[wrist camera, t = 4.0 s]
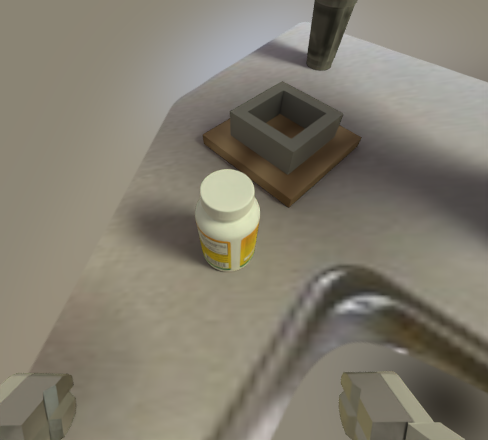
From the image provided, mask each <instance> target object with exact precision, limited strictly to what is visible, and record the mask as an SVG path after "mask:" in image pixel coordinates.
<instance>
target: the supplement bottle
mask: <svg viewBox="0 0 488 440" xmlns="http://www.w3.org/2000/svg"><path fill="white" fill-rule="evenodd" d="M195 219H196V224H197V228H198V233H199V237H200V242H201V246H202V251H203V255H204V257H205V259H206V261H207V262H208V263H209V264H210V265H211V266H212V267H214V268H215V269H217V270H220V271H224V272H231V271H236V270H239V269H241V268H243V267H245V266H246V265H247V264H248V263H249V261H250V260H251V259H252V257H253V254H254V251H255V245H256V238H257V232H258V226H259V220H260V207H259V204H258V202H257V200H256V198H255V197H254V186H253V183H252V181H251V180H250V178H249V177H247V176H246V175H245V174H244V173H242V172H239V171H236V170H231V169H223V170H218V171H215V172H213V173H211V174H209V175H208V176H207V177H206V178H205V179H204V180H203V182H202V184H201V186H200V199H199V201H198V202H197V205H196V208H195Z"/></svg>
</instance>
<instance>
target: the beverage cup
mask: <svg viewBox="0 0 488 440" xmlns="http://www.w3.org/2000/svg"><path fill="white" fill-rule="evenodd" d="M356 2H357V0H315V3H314V10H313V17H312V24H311V32H310V39H309V46H308V54H307V55H308V56H307V66H309V67H310V68H312V69H315V70H327V69H329V68H330V67H331V64H332V62H333V59H334V58H335V55H336V53H337V50H338V47H339V45H340V42H341V40H342V37H343V34H344V32H345V29H346V26H347V24H348V21H349V19H350V16H351V13H352V11H353V8H354V5H355V4H356Z"/></svg>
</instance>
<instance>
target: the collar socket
mask: <svg viewBox="0 0 488 440" xmlns="http://www.w3.org/2000/svg"><path fill="white" fill-rule="evenodd" d="M342 117H343V113H341V112H339V111H338V110H336V109H334V108H332V107H330V106H328V105H326V104H324V103H322V102H321V101H319V100H317V99H315V98H313V97H311V96H309V95H307V94H305V93H303V92H302V91H300V90H298V89H296V88H294V87H292V86H290V85H288V84H286V83H284V82H283V81H282V82H280V83H279V84H277V85H275V86H273V87H272V88H270V89H268V90H266V91H265V92H263V93H261V94H259V95H258V96H256V97H254V98H252V99H251V100H249V101H247V102H246V103H244V104H242V105H240V106H239V107H237V108H235V109H233V110H232V111H230V119H228V120H227V121H225V122H223V123H222V124H220V125H218V126H216V127H215V128H213V129H211V130H210V131H208V132H206V133H205V134H203V141H204V144H205V145H206V146H208V147H209V148H210V149H212V150H213V151H214V152H216V153H217V154H218V155H220V156H221V157H222V158H224V159H225V160H226V161H228V162H229V163H230V164H232V165H233V166H234V167H236V168H237V169H238V170H239V171H241V172H242V173H244V174H245V175H246V176H247V177H249V178H250V179H251V180H253V181H254V182H255V183H257V184H258V185H259V186H261V187H262V188H263V189H265V190H266V191H267V192H269V193H270V194H271V195H273V196H274V197H275V198H277V199H278V200H279V201H281V202H282V203H283V204H285V205H286V206H287V207H290V206H291V205H292V204H293V203H295V202H296V201H297V200H298V199H299V198H300V197H301V196H302V195H303V194H305V193H306V192H307V191H308V190H309V189H310V188H311V187H312V186H314V185H315V184H316V183H317V182H318V181H319V180H320V179H321V178H322V177H324V176H325V175H326V174H327V173H328V172H329V171H330V170H331V169H333V168H334V167H335V166H336V165H337V164H338V163H339V162H340V161H341V160H343V159H344V158H345V157H346V156H347V155H348V154H349V153H350V152H352V151H353V150H354V149H355V148H356V147H357V146H358V144H359V142H360V140H361V138H362V137H360V136H358V135H356V134H354V133H353V132H351V131H349V130H347V129H345V128H343V127H342V126H340V125H339V124H340V122H341V119H342Z"/></svg>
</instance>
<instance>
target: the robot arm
mask: <svg viewBox="0 0 488 440" xmlns="http://www.w3.org/2000/svg"><path fill="white" fill-rule="evenodd" d="M73 385H74V384H73V379H72V375H69V374H54V373H34V374H31V373H16V374H14V375H12V376H10V377H9V378H7V379H6V380H5V381H4V382H3V383H2V384H1V385H0V440H61V439H62V438H64V437H65V435H66V433H67V432H68V430H69V429H70V427H71V425H72V422H73V419H74V416H75V414H76V398H75V396H74V395H73V394H72V393H71V392H70V389H71V388H72V387H73ZM341 385H342V387H343V389H344V391H343V392H342V393H341V394H340V395H339V412H340V418H341V422H342V426H343V428H344V431H345V433H346V435H347V436H348V437H349V438H351V439H352V440H465V439H464V438H462V437H461V436H459V435H457V434H456V433H455V432H453V431H452V430H450V429H449V428H447V427H446V426H444V425H443V424H441V423H434V422H433V420H432V419H431V418H430V416H429V415H428V414H427V413H426V411H425V410H424V409H423V407H422V406H421V405H420V403H419V402H418V401H417V399H416V398H415V397H414V396H413V394H412V393H411V392H410V390H409V389H408V388H407V386H406V385H405V384H404V383H403V381H402V380H401V379H400V377H399V376H398V375H397V374H396V373H394V372H393V371H381V372H344V373H343V374H342V376H341Z"/></svg>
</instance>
